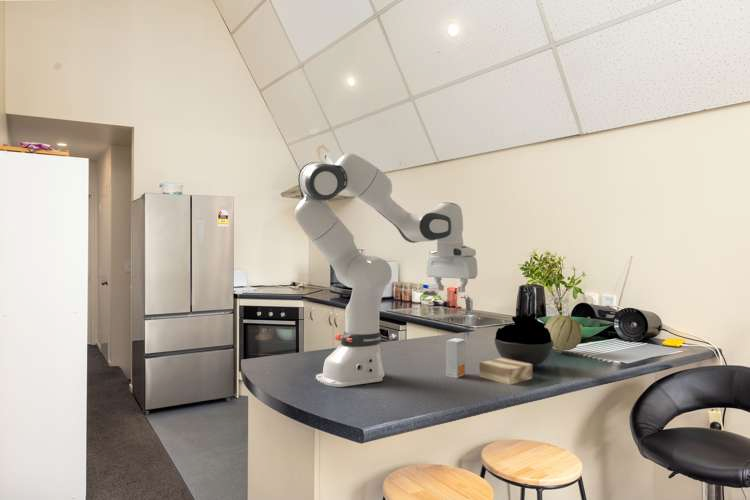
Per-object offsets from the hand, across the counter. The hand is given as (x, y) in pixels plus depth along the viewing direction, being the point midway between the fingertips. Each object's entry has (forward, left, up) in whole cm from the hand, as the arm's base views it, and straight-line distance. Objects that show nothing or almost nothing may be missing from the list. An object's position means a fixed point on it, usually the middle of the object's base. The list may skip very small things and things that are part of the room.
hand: (450, 291), depth 164 cm
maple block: (+10, -15, -28) cm, 34 cm away
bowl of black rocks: (+26, -11, -28) cm, 40 cm away
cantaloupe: (+64, -4, -28) cm, 70 cm away
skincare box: (-1, -3, -28) cm, 28 cm away
